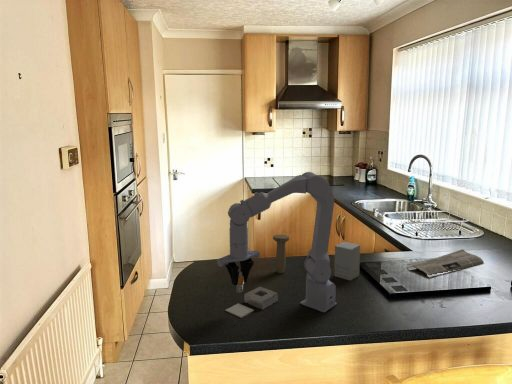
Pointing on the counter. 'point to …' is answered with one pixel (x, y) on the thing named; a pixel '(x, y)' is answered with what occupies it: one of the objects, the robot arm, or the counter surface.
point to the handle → (280, 252)
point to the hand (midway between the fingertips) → (239, 282)
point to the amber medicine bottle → (240, 281)
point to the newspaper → (448, 262)
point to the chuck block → (261, 297)
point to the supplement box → (347, 260)
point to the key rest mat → (239, 310)
